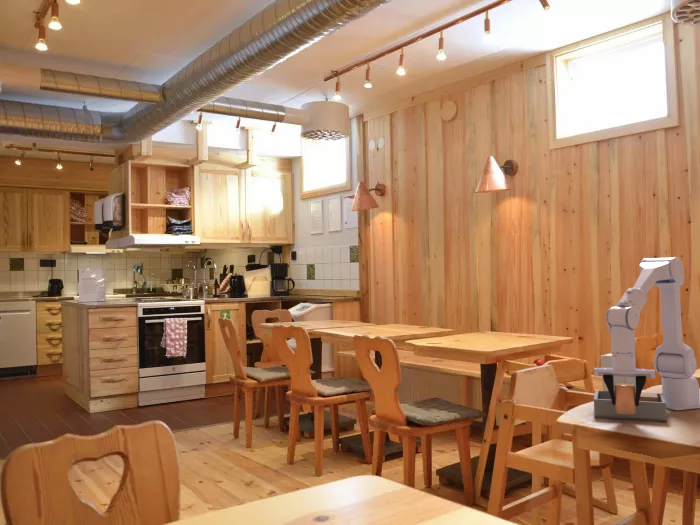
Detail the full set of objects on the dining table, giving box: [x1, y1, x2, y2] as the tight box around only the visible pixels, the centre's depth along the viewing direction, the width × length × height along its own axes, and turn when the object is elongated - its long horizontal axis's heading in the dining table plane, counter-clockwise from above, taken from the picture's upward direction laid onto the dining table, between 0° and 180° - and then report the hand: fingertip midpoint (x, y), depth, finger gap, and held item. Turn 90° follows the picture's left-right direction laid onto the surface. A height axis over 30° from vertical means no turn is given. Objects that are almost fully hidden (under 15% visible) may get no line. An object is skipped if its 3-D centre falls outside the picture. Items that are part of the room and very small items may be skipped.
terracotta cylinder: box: [614, 384, 636, 414], centre depth 163 cm, size 5×5×7 cm
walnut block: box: [639, 392, 658, 402], centre depth 171 cm, size 5×5×5 cm
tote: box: [593, 389, 667, 423], centre depth 172 cm, size 18×14×5 cm
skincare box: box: [600, 352, 636, 392], centre depth 186 cm, size 8×6×15 cm
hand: (625, 404), depth 163 cm, fingers closed on terracotta cylinder, 5 cm apart
